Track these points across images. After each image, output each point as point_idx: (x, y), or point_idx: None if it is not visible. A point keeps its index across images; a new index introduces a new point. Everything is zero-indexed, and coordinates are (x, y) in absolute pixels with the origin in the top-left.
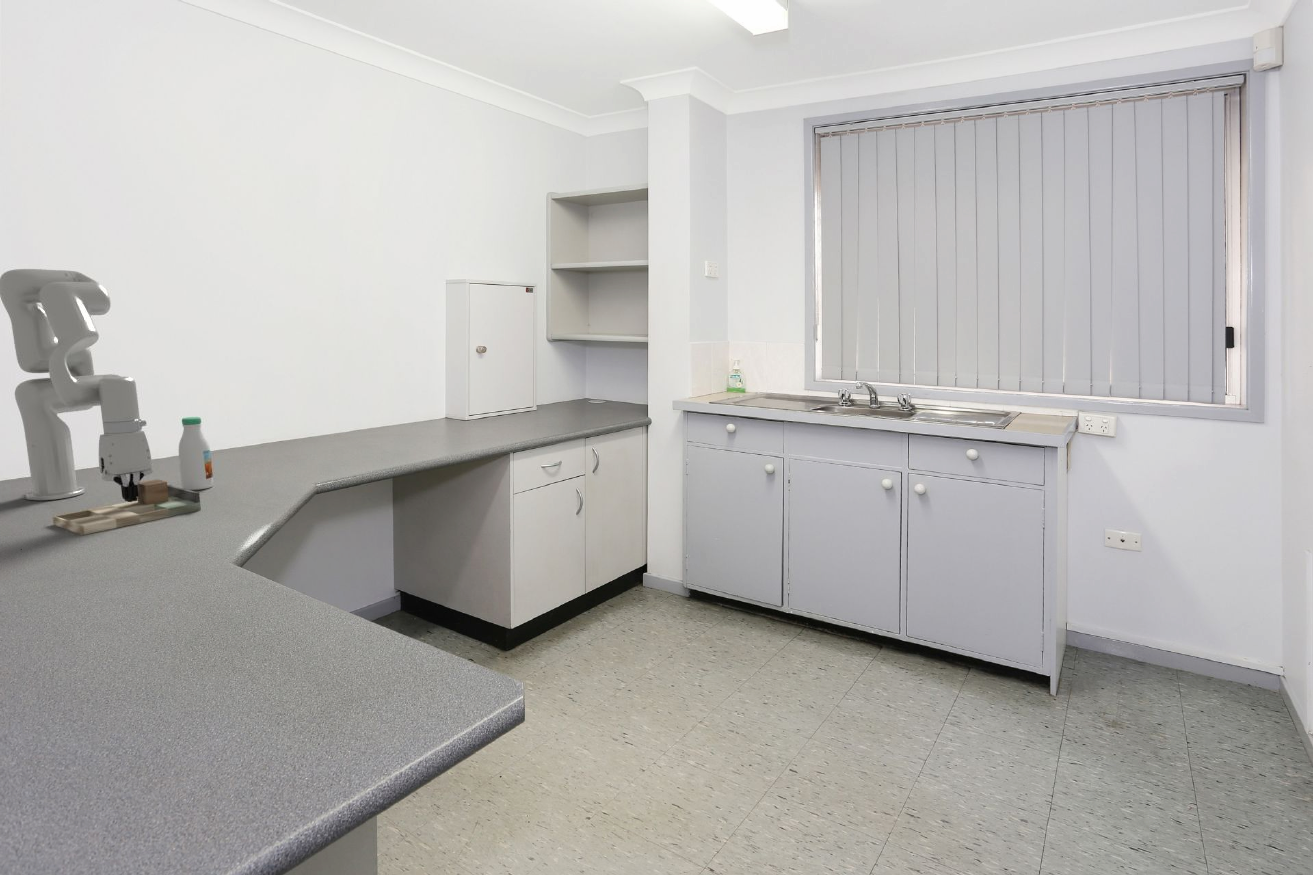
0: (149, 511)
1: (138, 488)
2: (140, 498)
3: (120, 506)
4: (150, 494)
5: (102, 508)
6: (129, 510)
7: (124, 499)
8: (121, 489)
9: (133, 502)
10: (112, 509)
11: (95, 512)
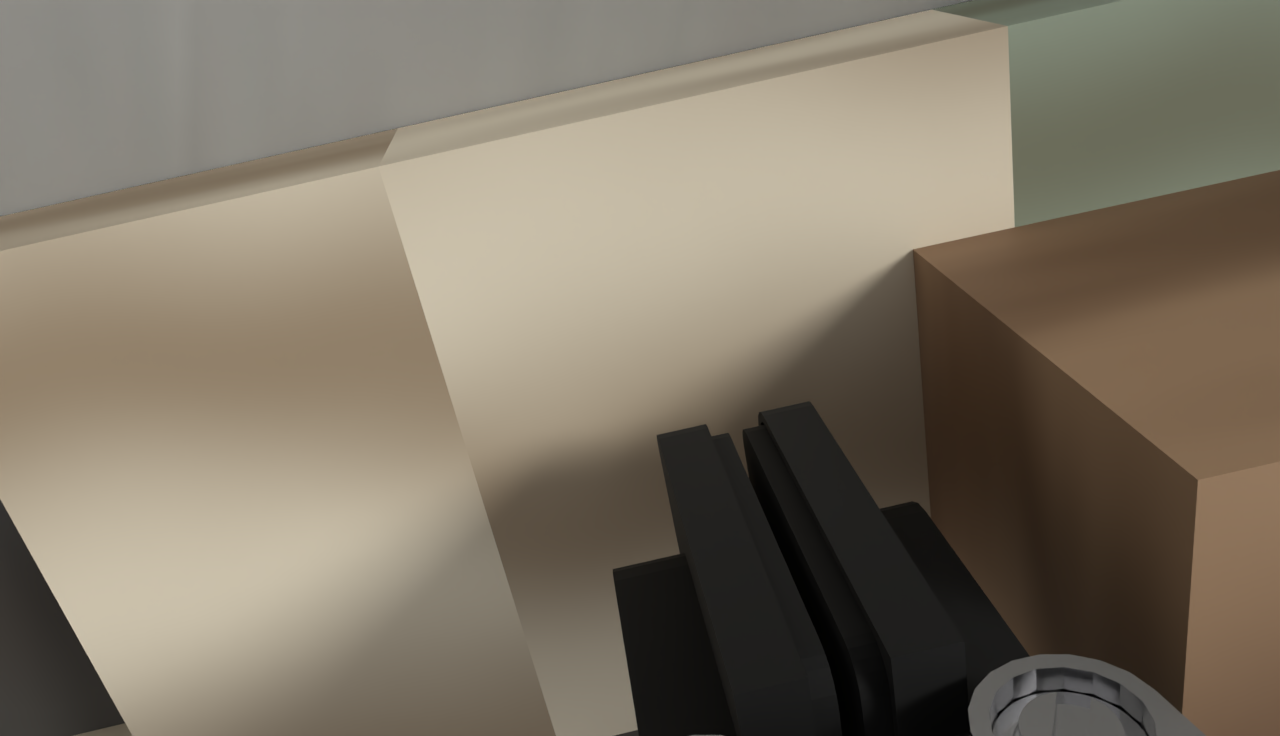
0: None
1: (1089, 516)
2: (962, 433)
3: (545, 427)
4: None
5: (208, 371)
6: (620, 716)
7: (658, 440)
8: (637, 722)
9: (838, 217)
10: (380, 574)
11: (78, 628)
